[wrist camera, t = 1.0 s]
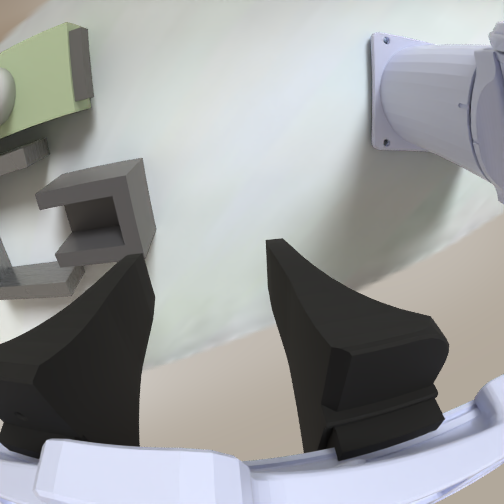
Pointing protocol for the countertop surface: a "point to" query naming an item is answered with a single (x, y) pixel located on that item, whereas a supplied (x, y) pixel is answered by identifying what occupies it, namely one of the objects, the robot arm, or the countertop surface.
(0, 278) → the chute mount
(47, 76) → the pale green flat plate
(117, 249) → the chute
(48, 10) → the countertop surface
